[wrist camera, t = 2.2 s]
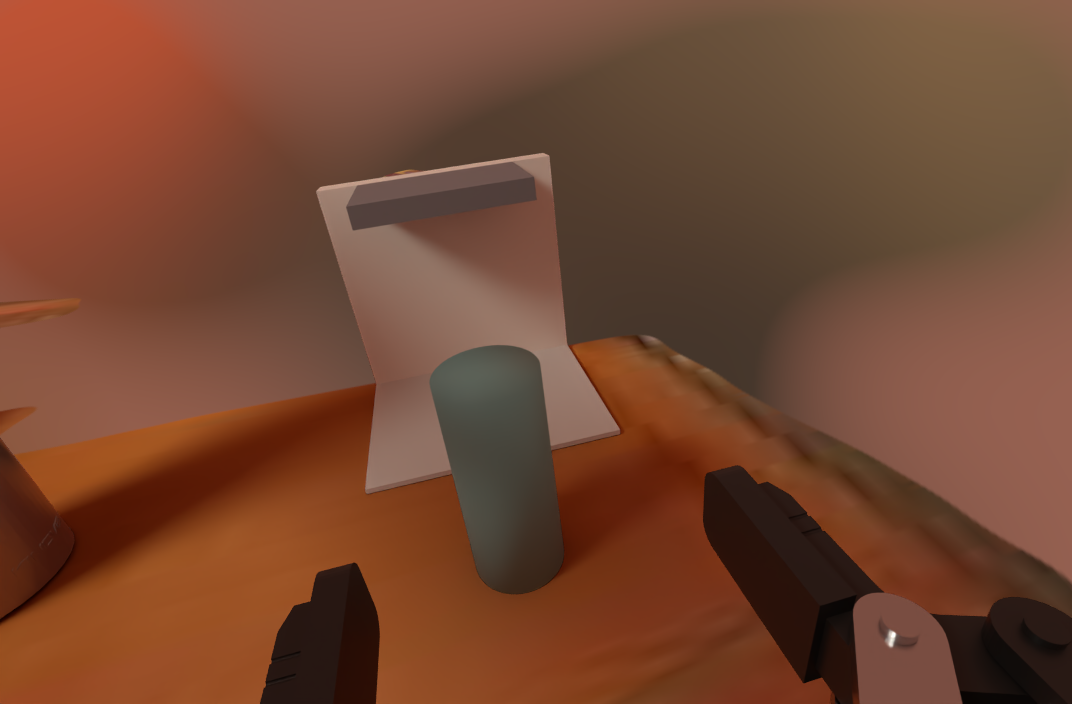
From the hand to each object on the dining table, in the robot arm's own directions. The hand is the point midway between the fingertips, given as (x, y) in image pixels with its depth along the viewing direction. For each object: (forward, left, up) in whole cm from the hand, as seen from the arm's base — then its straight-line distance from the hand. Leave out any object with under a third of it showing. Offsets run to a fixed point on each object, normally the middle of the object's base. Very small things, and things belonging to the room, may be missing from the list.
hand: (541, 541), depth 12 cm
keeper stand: (0, +28, -14) cm, 31 cm away
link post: (0, +12, -14) cm, 19 cm away
